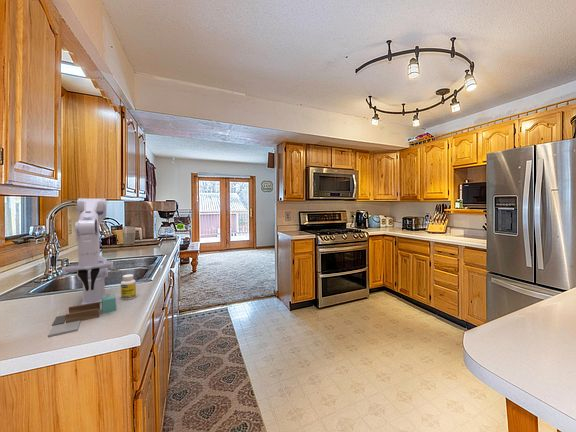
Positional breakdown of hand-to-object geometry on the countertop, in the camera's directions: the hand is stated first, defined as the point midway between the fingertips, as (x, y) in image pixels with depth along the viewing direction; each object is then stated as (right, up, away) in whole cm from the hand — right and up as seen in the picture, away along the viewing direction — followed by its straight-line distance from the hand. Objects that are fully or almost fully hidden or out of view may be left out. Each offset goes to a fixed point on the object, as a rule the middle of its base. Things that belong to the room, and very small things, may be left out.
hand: (89, 289), depth 91 cm
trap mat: (-7, -10, -4) cm, 13 cm away
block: (+4, -9, +4) cm, 11 cm away
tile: (0, -10, -10) cm, 14 cm away
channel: (-2, -9, -1) cm, 10 cm away
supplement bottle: (+4, -9, +17) cm, 19 cm away
